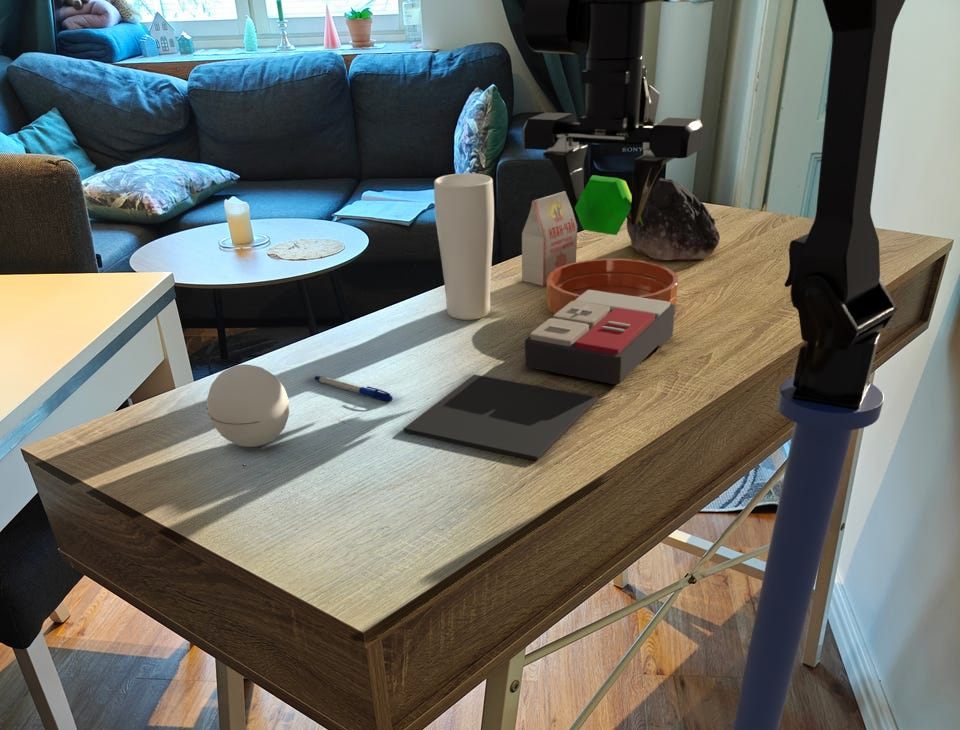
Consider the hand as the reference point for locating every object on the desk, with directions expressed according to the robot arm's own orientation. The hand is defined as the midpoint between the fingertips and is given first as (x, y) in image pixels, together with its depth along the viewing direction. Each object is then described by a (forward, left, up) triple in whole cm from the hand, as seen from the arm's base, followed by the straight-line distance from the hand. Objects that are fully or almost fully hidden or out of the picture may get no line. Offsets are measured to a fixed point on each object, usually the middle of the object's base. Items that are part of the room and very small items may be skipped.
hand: (606, 221), depth 100 cm
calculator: (-4, +11, -11) cm, 16 cm away
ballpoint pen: (+15, +30, -11) cm, 36 cm away
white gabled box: (+12, -12, -11) cm, 20 cm away
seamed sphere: (+17, +45, -11) cm, 50 cm away
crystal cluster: (+1, -30, -11) cm, 31 cm away
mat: (-2, +29, -11) cm, 31 cm away
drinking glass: (+15, +5, -11) cm, 20 cm away
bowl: (0, -4, -11) cm, 11 cm away
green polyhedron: (0, 0, -1) cm, 1 cm away
